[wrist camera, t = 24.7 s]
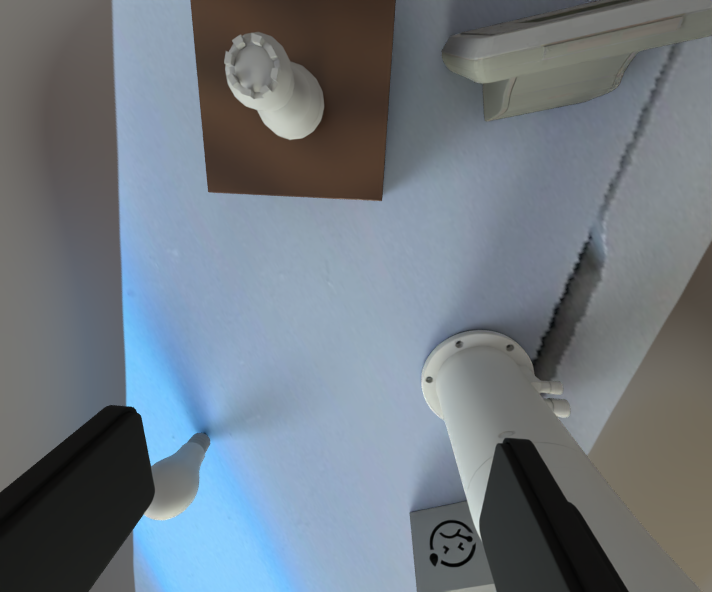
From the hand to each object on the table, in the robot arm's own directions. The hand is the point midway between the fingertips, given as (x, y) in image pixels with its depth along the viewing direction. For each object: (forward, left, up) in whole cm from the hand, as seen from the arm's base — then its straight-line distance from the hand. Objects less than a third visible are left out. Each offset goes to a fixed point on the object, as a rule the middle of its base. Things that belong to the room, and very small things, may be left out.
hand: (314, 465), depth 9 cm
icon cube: (-15, +39, -28) cm, 51 cm away
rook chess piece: (+5, -12, -19) cm, 23 cm away
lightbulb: (+20, +26, -28) cm, 43 cm away
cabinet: (+5, -13, -28) cm, 32 cm away
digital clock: (-14, -18, -28) cm, 36 cm away
